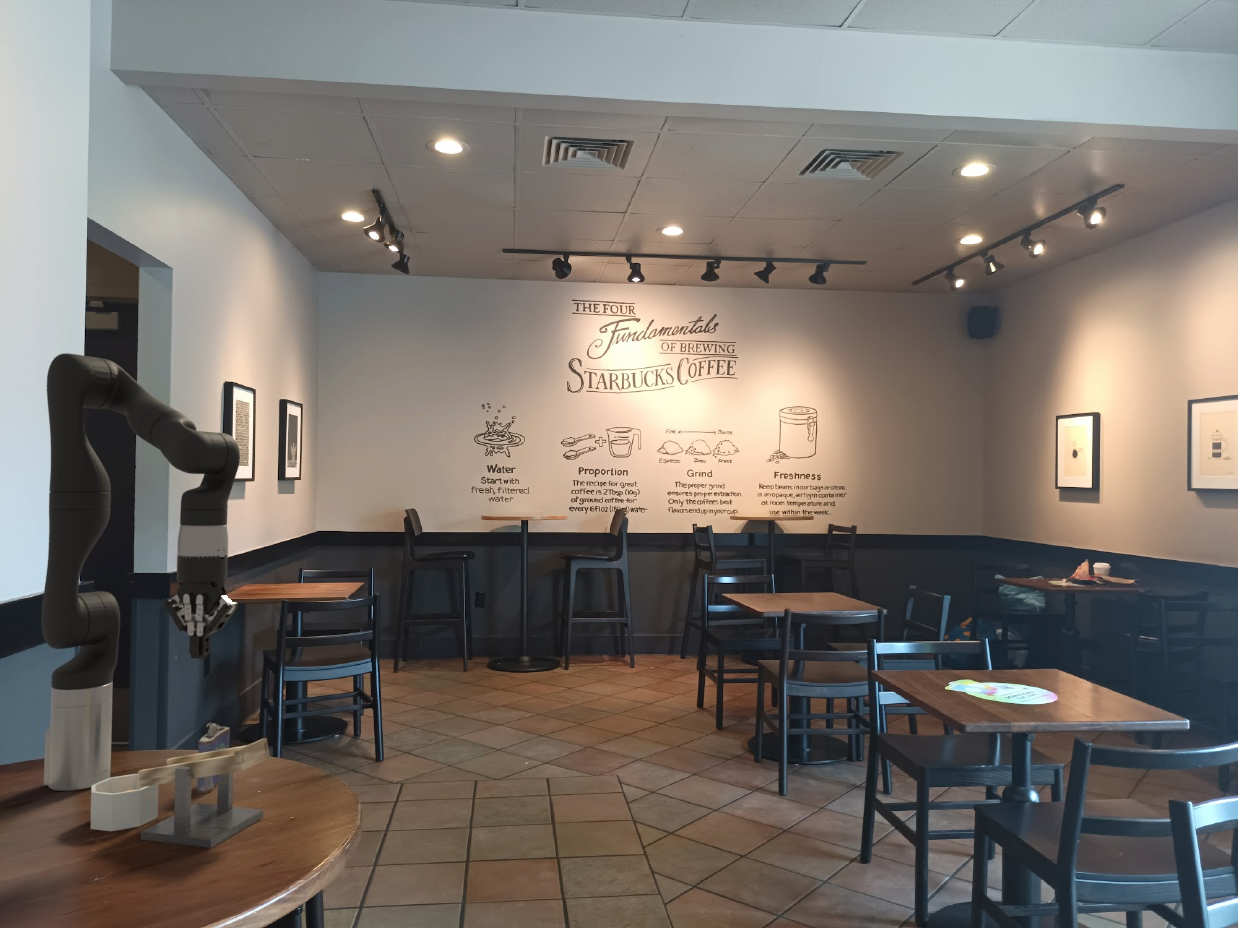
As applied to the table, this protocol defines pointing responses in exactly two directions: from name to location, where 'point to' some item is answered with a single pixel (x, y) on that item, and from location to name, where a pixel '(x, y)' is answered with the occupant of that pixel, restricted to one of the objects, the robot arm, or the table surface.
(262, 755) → the lever
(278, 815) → the table surface
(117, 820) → the cup
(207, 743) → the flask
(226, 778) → the lever stand
